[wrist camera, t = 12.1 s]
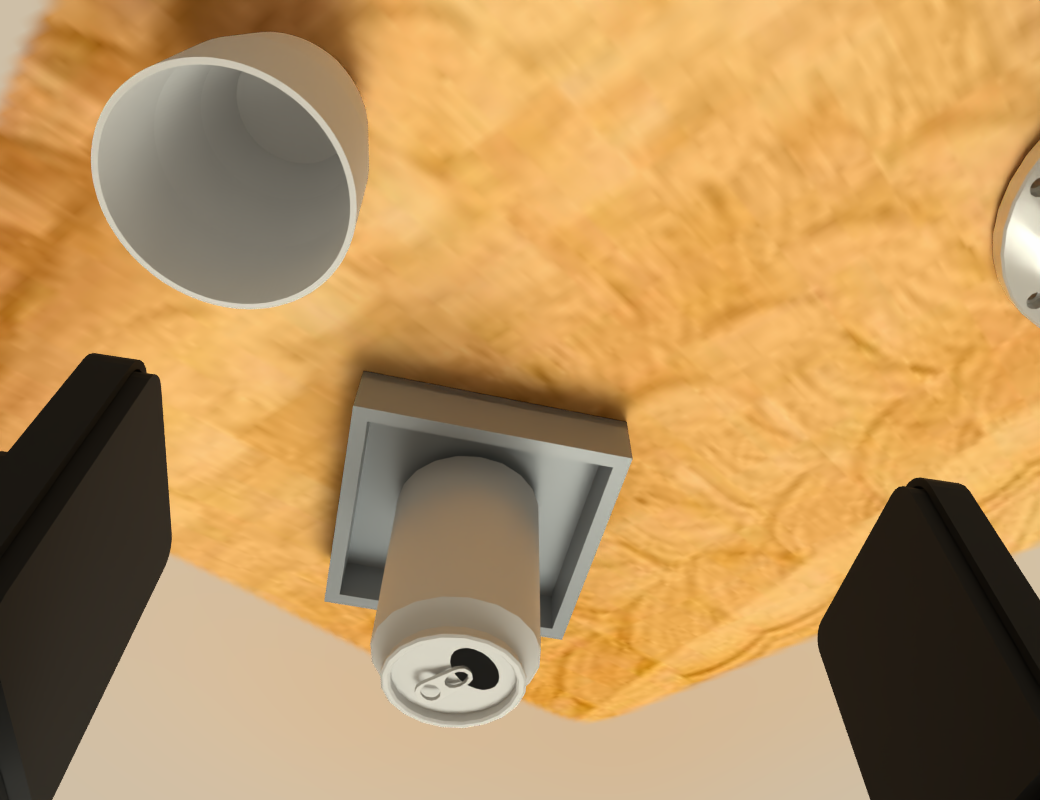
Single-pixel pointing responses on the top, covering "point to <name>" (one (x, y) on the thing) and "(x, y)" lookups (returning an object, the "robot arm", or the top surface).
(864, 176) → the top surface
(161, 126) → the cup
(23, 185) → the top surface
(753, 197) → the top surface
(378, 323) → the top surface
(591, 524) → the bin
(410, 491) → the can
